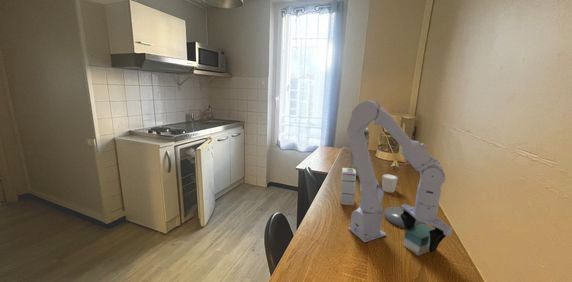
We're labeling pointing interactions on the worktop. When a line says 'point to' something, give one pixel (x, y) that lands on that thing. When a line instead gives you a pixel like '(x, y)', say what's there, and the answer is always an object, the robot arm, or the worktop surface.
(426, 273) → the worktop surface
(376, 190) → the robot arm
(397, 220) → the slate stand
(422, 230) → the block
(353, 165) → the juice carton
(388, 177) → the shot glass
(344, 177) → the syrup box
